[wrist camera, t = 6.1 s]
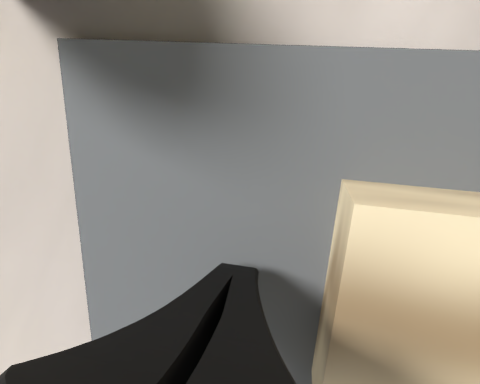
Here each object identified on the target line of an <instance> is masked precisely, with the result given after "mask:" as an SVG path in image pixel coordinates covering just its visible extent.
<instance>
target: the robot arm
mask: <svg viewBox="0 0 480 384" xmlns="http://www.w3.org/2000/svg"><path fill="white" fill-rule="evenodd" d="M258 275H259V271H258V270H257V269H256V268H253V267H246V266H240V265H233V264H227V263H221V264H219V265H218V266H217V267H216V268H214V269H213V270H212V271H211V272H210V273H208V274H207V275H206V276H205V277H204V278H202V279H201V280H200V281H199V282H197V283H196V284H195V285H193V286H192V287H191V288H190V289H188V290H187V291H186V292H184V293H183V294H181V295H180V296H179V297H177V298H176V299H174V300H173V301H171V302H170V303H168V304H167V305H165V306H164V307H162V308H160V309H159V310H157V311H155V312H153V313H151V314H150V315H148V316H146V317H144V318H142V319H140V320H138V321H136V322H134V323H132V324H130V325H128V326H126V327H123V328H121V329H119V330H117V331H115V332H112V333H110V334H108V335H106V336H103V337H101V338H98V339H95V340H93V341H90V342H88V343H85V344H82V345H79V346H76V347H73V348H70V349H67V350H64V351H61V352H58V353H55V354H51V355H48V356H44V357H41V358H37V359H34V360H30V361H27V362H23V363H19V364H15V365H11V366H10V367H9V368H8V369H7V370H6V371H5V372H4V373H2V374H1V375H0V384H296V382H295V380H294V379H293V377H292V375H291V374H290V372H289V370H288V368H287V367H286V365H285V363H284V361H283V359H282V357H281V355H280V353H279V351H278V349H277V346H276V344H275V342H274V340H273V337H272V335H271V332H270V329H269V327H268V324H267V321H266V318H265V315H264V311H263V308H262V303H261V299H260V295H259V289H258Z"/></svg>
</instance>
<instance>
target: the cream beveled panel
mask: <svg viewBox="0 0 480 384" xmlns="http://www.w3.org/2000/svg"><path fill="white" fill-rule="evenodd" d="M311 372H312V384H480V192H472V191H462V190H451V189H441V188H430V187H420V186H409V185H399V184H388V183H378V182H367V181H357V180H346V179H342V180H341V187H340V193H339V199H338V206H337V212H336V218H335V225H334V231H333V237H332V244H331V250H330V256H329V263H328V269H327V275H326V282H325V288H324V294H323V301H322V307H321V313H320V320H319V326H318V332H317V339H316V345H315V351H314V358H313V364H312V370H311Z"/></svg>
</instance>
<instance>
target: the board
mask: <svg viewBox="0 0 480 384" xmlns="http://www.w3.org/2000/svg"><path fill="white" fill-rule="evenodd" d="M57 41H58V50H59V59H60V68H61V76H62V85H63V94H64V103H65V111H66V120H67V129H68V138H69V146H70V155H71V164H72V172H73V181H74V190H75V199H76V207H77V216H78V225H79V234H80V242H81V251H82V260H83V269H84V277H85V286H86V295H87V304H88V312H89V321H90V330H91V338H92V341H93V340H95V339H98V338H101V337H103V336H106V335H108V334H110V333H112V332H115V331H117V330H119V329H121V328H123V327H126V326H128V325H130V324H132V323H134V322H136V321H138V320H140V319H142V318H144V317H146V316H148V315H150V314H151V313H153V312H155V311H157V310H159V309H160V308H162V307H164V306H165V305H167V304H168V303H170V302H171V301H173V300H174V299H176V298H177V297H179V296H180V295H181V294H183V293H184V292H186V291H187V290H188V289H190V288H191V287H192V286H193V285H195V284H196V283H197V282H199V281H200V280H201V279H202V278H204V277H205V276H206V275H207V274H208V273H210V272H211V271H212V270H213V269H214V268H216V267H217V266H218V265H219V264H221V263H227V264H233V265H240V266H246V267H253V268H256V269H257V270H258V271H259V275H258V289H259V295H260V299H261V303H262V308H263V311H264V315H265V318H266V321H267V324H268V327H269V329H270V332H271V335H272V337H273V340H274V342H275V344H276V346H277V349H278V351H279V353H280V355H281V357H282V359H283V361H284V363H285V365H286V367H287V368H288V370H289V372H290V374H291V375H292V377H293V379H294V380H295V382H296V384H312V372H311V370H312V364H313V358H314V351H315V345H316V339H317V332H318V326H319V320H320V313H321V307H322V301H323V294H324V288H325V282H326V275H327V269H328V263H329V256H330V250H331V244H332V237H333V231H334V225H335V218H336V212H337V206H338V199H339V193H340V187H341V180H342V179H346V180H357V181H367V182H378V183H388V184H399V185H409V186H420V187H430V188H441V189H451V190H462V191H472V192H480V51H477V50H442V49H408V48H374V47H340V46H306V45H271V44H237V43H203V42H169V41H134V40H100V39H66V38H57Z"/></svg>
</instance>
